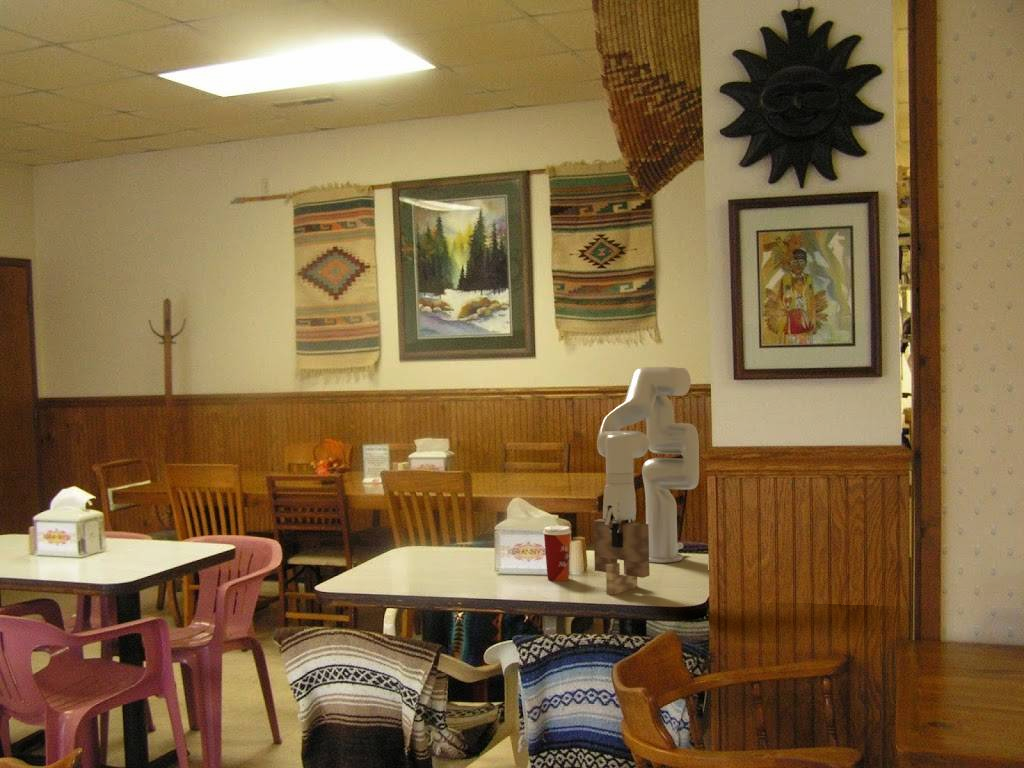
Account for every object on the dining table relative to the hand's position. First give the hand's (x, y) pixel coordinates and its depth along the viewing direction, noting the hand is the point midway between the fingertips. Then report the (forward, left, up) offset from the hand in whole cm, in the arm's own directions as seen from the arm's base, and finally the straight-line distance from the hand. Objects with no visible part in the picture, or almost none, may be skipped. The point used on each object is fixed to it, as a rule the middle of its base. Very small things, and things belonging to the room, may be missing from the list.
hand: (621, 545), depth 289 cm
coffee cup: (-1, -23, -13) cm, 26 cm away
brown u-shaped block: (0, 0, -12) cm, 12 cm away
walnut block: (0, 0, -8) cm, 8 cm away
